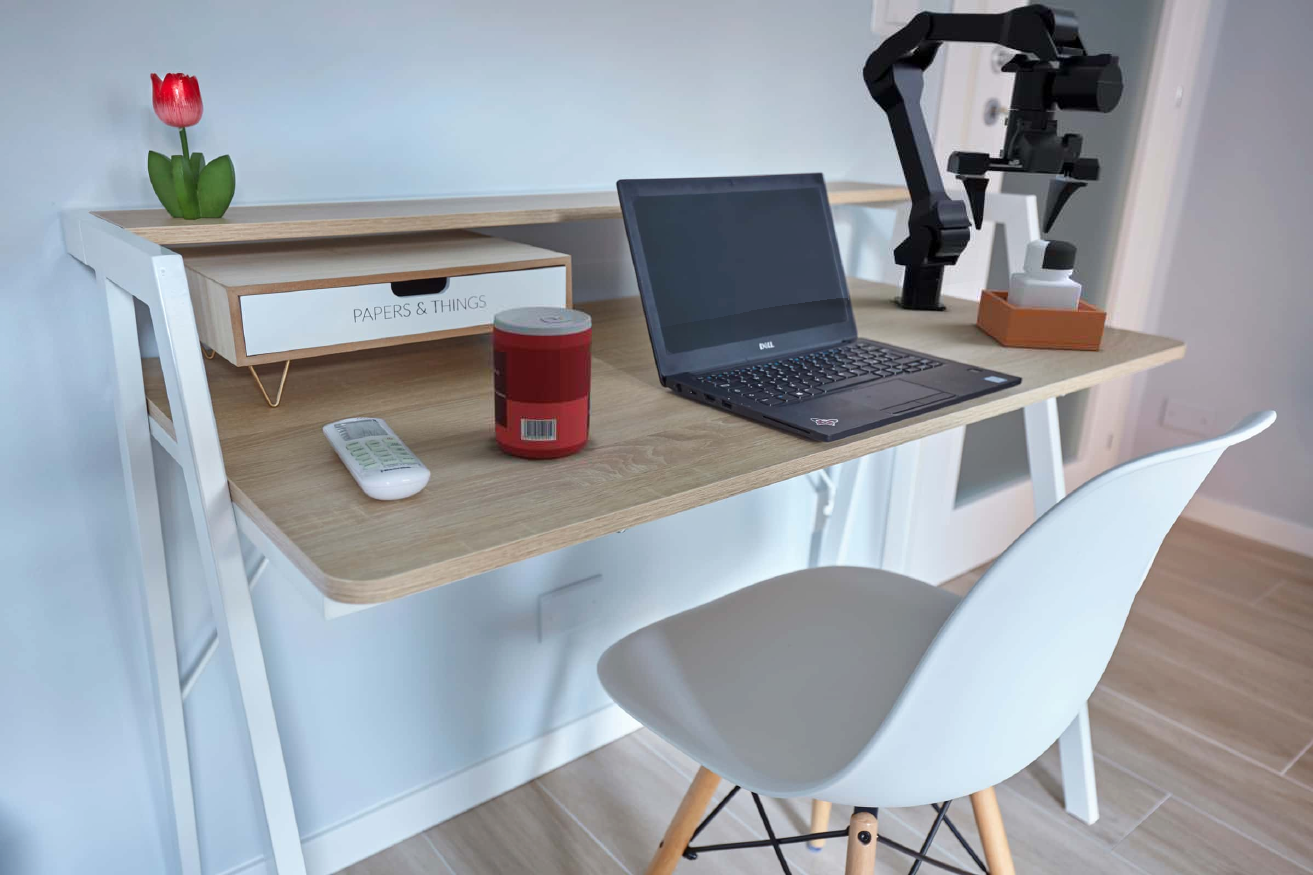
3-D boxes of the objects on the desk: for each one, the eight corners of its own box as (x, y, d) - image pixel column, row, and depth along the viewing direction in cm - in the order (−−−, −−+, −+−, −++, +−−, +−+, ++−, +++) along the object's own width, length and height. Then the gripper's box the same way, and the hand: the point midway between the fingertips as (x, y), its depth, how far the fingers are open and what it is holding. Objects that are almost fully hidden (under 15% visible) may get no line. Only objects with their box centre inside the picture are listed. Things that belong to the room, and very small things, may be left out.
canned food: (607, 446, 79) (611, 319, 75) (532, 468, 74) (531, 332, 70) (551, 422, 84) (552, 302, 80) (477, 441, 79) (473, 313, 75)
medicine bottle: (1055, 327, 128) (1072, 238, 124) (1071, 339, 121) (1090, 246, 117) (1002, 323, 128) (1017, 235, 124) (1016, 335, 122) (1032, 243, 118)
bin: (975, 325, 131) (981, 289, 129) (1061, 329, 131) (1068, 293, 129) (1005, 346, 119) (1011, 308, 117) (1099, 350, 119) (1107, 312, 118)
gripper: (980, 108, 114) (961, 236, 119) (1132, 115, 114) (1105, 243, 119) (954, 107, 124) (937, 225, 130) (1093, 113, 125) (1070, 231, 130)
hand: (1011, 231), depth 127 cm, fingers open, 9 cm apart
